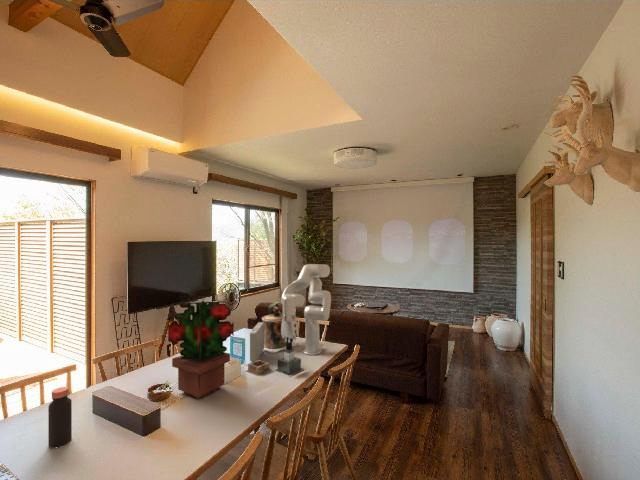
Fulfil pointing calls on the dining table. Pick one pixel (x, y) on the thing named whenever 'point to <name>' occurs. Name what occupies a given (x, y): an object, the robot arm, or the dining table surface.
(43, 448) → the dining table surface
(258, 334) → the network device
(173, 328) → the potted plant
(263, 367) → the brown square ashtray
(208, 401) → the dining table surface
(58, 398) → the bottle
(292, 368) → the port block
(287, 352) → the plug
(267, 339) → the cookie jar
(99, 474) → the dining table surface
